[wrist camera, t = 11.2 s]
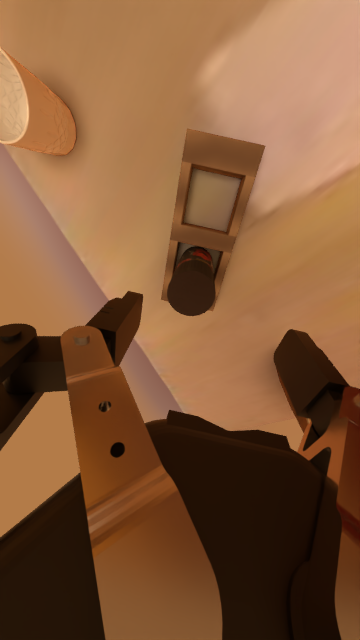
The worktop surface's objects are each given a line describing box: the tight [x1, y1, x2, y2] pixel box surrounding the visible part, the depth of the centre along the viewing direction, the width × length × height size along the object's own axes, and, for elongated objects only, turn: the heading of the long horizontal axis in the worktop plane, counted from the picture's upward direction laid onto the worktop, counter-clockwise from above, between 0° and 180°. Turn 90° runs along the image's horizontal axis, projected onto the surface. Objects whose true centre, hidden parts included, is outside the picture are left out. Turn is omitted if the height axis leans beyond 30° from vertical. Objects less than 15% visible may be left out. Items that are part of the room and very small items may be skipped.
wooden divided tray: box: [161, 129, 265, 311], centre depth 32 cm, size 24×10×4 cm, turn 169°
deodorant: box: [167, 246, 216, 316], centre depth 30 cm, size 6×6×15 cm
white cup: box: [0, 47, 76, 155], centre depth 25 cm, size 8×8×10 cm
